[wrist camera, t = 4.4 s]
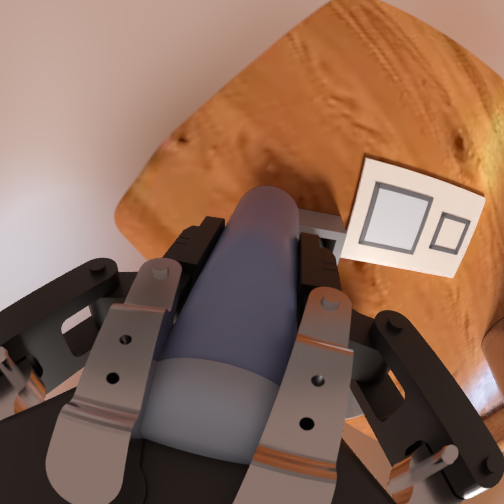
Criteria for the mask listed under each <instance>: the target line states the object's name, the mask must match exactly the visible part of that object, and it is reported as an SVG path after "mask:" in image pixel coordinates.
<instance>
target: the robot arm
mask: <svg viewBox="0 0 504 504" xmlns="http://www.w3.org/2000/svg"><path fill="white" fill-rule="evenodd" d="M224 228H225V219H222V218H216V217H210V216H206V218H205V219H204V220H203V222H202V223H201V224H200V226H191V227H189V228H187V229H185V230H183V232H182V233H181V234H180V235H179V238H177V239H176V241H175V243H173V244H172V246H171V247H170V248H169V249H168V251H167V252H166V253H165V255H164V256H163V257H162V258H155V259H151V260H149V261H147V262H145V263H144V264H143V265H142V266H141V268H140V269H139V272H118V267H117V264H116V262H115V261H113V260H112V259H108V258H96V259H93V260H90V261H88V262H86V263H84V264H82V265H80V266H78V267H77V268H75V269H73V270H71V271H69V272H67V273H65V274H64V275H62V276H60V277H58V278H56V279H55V280H53V281H51V282H50V283H48V284H46V285H44V286H42V287H41V288H39V289H37V290H35V291H34V292H32V293H30V294H29V295H27V296H25V297H23V298H22V299H20V300H18V301H17V302H15V303H14V304H12V305H10V306H9V307H7V308H6V309H4V310H2V311H1V312H0V504H460V503H461V502H462V501H465V500H467V499H469V498H471V497H474V496H476V495H478V494H480V493H482V492H484V491H486V490H488V489H490V488H492V487H494V486H495V485H496V484H498V482H499V481H500V480H501V478H502V476H503V473H504V456H503V454H502V452H501V450H500V448H499V446H498V445H497V443H496V441H495V440H494V438H493V436H492V435H491V433H490V431H489V430H488V428H487V427H486V425H485V423H484V422H483V420H482V419H481V417H480V416H479V414H478V413H477V411H476V410H475V408H474V407H473V405H472V404H471V402H470V401H469V399H468V398H467V396H466V395H465V393H464V392H463V390H462V389H461V388H460V386H459V385H458V383H457V382H456V381H455V379H454V378H453V376H452V375H451V374H450V372H449V371H448V370H447V368H446V367H445V366H444V364H443V363H442V362H441V360H440V359H439V358H438V356H437V355H436V354H435V352H434V351H433V350H432V348H431V347H430V346H429V345H428V343H427V342H426V341H425V340H424V338H423V337H422V336H421V335H420V333H419V332H418V331H417V330H416V328H415V327H414V326H413V325H412V323H411V322H410V321H409V320H408V319H407V318H406V317H405V316H403V315H402V314H400V313H398V312H395V311H390V310H385V311H381V312H379V313H378V314H377V315H376V317H375V319H373V318H371V317H368V316H365V315H363V314H360V313H358V312H356V311H355V310H353V309H352V303H351V301H350V299H349V298H348V296H347V295H346V294H344V293H343V292H342V290H341V284H340V278H339V273H338V268H337V262H336V257H335V255H334V254H333V253H332V252H331V251H330V249H327V248H322V247H320V242H319V235H316V234H310V233H305V232H301V233H300V236H299V241H298V291H297V328H296V340H295V343H294V346H293V349H292V352H291V355H290V358H289V361H288V364H287V367H286V370H285V373H284V376H283V379H282V382H281V385H280V388H279V391H278V394H277V396H276V399H275V402H274V405H273V407H272V410H271V413H270V415H269V418H268V421H267V423H266V426H265V429H264V431H263V434H262V436H261V439H260V441H259V444H258V446H257V449H256V451H255V453H254V456H253V458H252V461H251V463H250V465H247V464H241V463H235V462H230V461H224V460H220V459H215V458H210V457H206V456H202V455H198V454H194V453H190V452H187V451H183V450H179V449H176V448H173V447H169V446H166V445H163V444H160V443H157V442H154V441H151V440H148V439H146V438H144V436H143V434H142V432H141V427H142V423H143V419H144V414H145V410H146V406H147V402H148V398H149V394H150V390H151V386H152V383H153V379H154V375H155V372H156V368H157V365H158V362H159V358H160V355H161V353H162V352H163V351H164V349H165V347H166V344H167V341H168V338H169V335H170V333H171V331H172V328H173V326H174V324H175V322H176V320H177V318H178V316H179V314H180V312H181V310H182V308H183V306H184V304H185V302H186V300H187V298H188V296H189V294H190V292H191V290H192V289H193V287H194V285H195V283H196V281H197V279H198V277H199V275H200V273H201V271H202V269H203V267H204V266H205V264H206V262H207V260H208V258H209V256H210V254H211V252H212V250H213V249H214V247H215V245H216V243H217V241H218V239H219V237H220V236H221V234H222V232H223V230H224ZM87 306H89V309H90V312H91V315H92V316H90V317H89V318H87V319H86V320H84V321H83V322H81V323H80V324H78V325H76V326H75V327H73V328H72V329H70V330H69V331H68V332H66V333H65V334H62V332H61V327H62V324H63V322H64V321H65V320H66V319H68V318H69V317H71V316H72V315H74V314H76V313H77V312H78V311H80V310H82V309H83V308H85V307H87ZM481 349H482V351H483V353H484V355H485V358H486V360H487V362H488V365H489V367H490V369H491V372H492V374H493V377H494V379H495V382H496V384H497V387H498V390H499V392H500V395H501V398H502V401H503V404H504V318H503V319H502V320H500V321H499V322H498V323H496V324H495V325H494V326H493V327H492V328H491V329H490V330H489V332H488V333H487V334H486V336H485V337H484V339H483V341H482V345H481ZM84 366H85V367H84ZM83 367H84V370H83V372H82V375H81V377H80V380H79V383H78V386H77V387H75V388H73V389H70V390H68V391H66V392H64V393H62V394H60V395H57V396H55V397H53V398H51V399H48V400H46V401H45V400H44V399H45V395H46V394H47V393H49V392H50V391H51V390H53V389H54V388H56V387H57V386H58V385H60V384H61V383H63V382H64V381H65V380H67V379H68V378H69V377H71V376H72V375H73V374H75V373H76V372H77V371H79V370H80V369H82V368H83ZM390 369H391V371H392V372H393V374H394V375H395V377H396V378H397V380H398V381H399V383H400V384H401V386H402V388H403V389H404V392H405V400H404V398H403V397H402V395H401V393H400V392H399V390H398V389H397V387H396V386H395V384H394V382H393V381H392V379H391V378H390V376H389V375H388V372H389V371H390ZM349 389H351V391H352V393H353V395H354V397H355V398H356V400H357V402H358V404H359V406H360V408H361V410H362V411H363V413H364V415H365V417H366V419H367V421H368V423H369V424H370V426H371V428H372V430H373V432H374V434H375V436H376V438H377V439H378V441H379V443H380V445H381V447H382V449H383V451H384V452H385V455H386V456H387V458H388V460H389V462H390V464H391V466H392V470H391V471H390V475H389V481H388V483H387V488H388V490H389V491H390V492H392V497H391V496H390V495H389V494H388V493H387V492H386V490H385V489H384V488H383V487H382V486H381V485H380V483H379V482H378V481H377V480H376V479H375V478H374V476H373V475H372V474H371V473H370V472H369V470H368V469H367V468H366V467H365V466H364V464H363V463H362V462H361V461H360V459H359V458H358V457H357V456H356V455H355V453H354V452H353V451H352V450H351V449H350V447H349V446H348V445H347V444H346V442H345V441H344V440H343V439H342V432H343V426H344V421H345V415H346V409H347V403H348V396H349Z"/></svg>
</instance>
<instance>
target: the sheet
mask: <svg viewBox="0 0 504 504" xmlns="http://www.w3.org/2000/svg"><path fill="white" fill-rule="evenodd" d="M485 200H486V198H485V197H483V196H481V195H478V194H476V193H473V192H471V191H468V190H466V189H463V188H461V187H458V186H456V185H453V184H450V183H447V182H445V181H442V180H439V179H436V178H433V177H430V176H427V175H424V174H421V173H418V172H415V171H412V170H409V169H406V168H402V167H399V166H395V165H392V164H388V163H385V162H381V161H378V160H374V159H370V158H366V157H365V161H364V165H363V169H362V174H361V178H360V182H359V186H358V190H357V194H356V198H355V202H354V205H353V209H352V213H351V217H350V220H349V224H348V227H347V231H346V233H347V236H346V239H345V242H344V246H343V249H342V252H341V256H340V258H346V259H352V260H357V261H363V262H368V263H374V264H379V265H385V266H390V267H396V268H401V269H406V270H412V271H417V272H423V273H428V274H433V275H439V276H444V277H449V278H453V277H454V275H455V273H456V271H457V269H458V267H459V265H460V263H461V260H462V258H463V256H464V254H465V252H466V249H467V247H468V245H469V243H470V240H471V238H472V235H473V233H474V230H475V228H476V225H477V223H478V220H479V217H480V215H481V212H482V209H483V206H484V203H485Z"/></svg>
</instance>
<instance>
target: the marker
mask: <svg viewBox="0 0 504 504" xmlns="http://www.w3.org/2000/svg"><path fill="white" fill-rule="evenodd" d="M298 241H299V212H298V207H297V205H296V203H295V201H294V199H293V198H292V197H291V196H290V195H289V194H288V193H287V192H285V191H284V190H282V189H280V188H277V187H274V186H259V187H255V188H253V189H251V190H249V191H248V192H247V193H245V194H244V195H243V197H242V198H241V199H240V201H239V203H238V205H237V206H236V208H235V210H234V212H233V214H232V215H231V217H230V219H229V221H228V223H227V225H226V226H225V228H224V230H223V232H222V234H221V236H220V237H219V239H218V241H217V243H216V245H215V247H214V249H213V250H212V252H211V254H210V256H209V258H208V260H207V262H206V264H205V266H204V267H203V269H202V271H201V273H200V275H199V277H198V279H197V281H196V283H195V285H194V287H193V289H192V290H191V292H190V294H189V296H188V298H187V300H186V302H185V304H184V306H183V308H182V310H181V312H180V314H179V316H178V318H177V320H176V322H175V324H174V326H173V328H172V331H171V333H170V335H169V338H168V341H167V344H166V347H165V349H164V351H163V352H162V353H161V355H160V358H159V362H158V365H157V368H156V372H155V375H154V379H153V383H152V386H151V390H150V394H149V398H148V402H147V406H146V410H145V414H144V419H143V423H142V427H141V432H142V434H143V436H144V438H146V439H148V440H151V441H154V442H157V443H160V444H163V445H166V446H169V447H173V448H176V449H179V450H183V451H187V452H190V453H194V454H198V455H202V456H206V457H210V458H215V459H220V460H224V461H230V462H235V463H241V464H247V465H250V463H251V461H252V458H253V456H254V453H255V451H256V449H257V446H258V444H259V441H260V439H261V436H262V434H263V431H264V429H265V426H266V423H267V421H268V418H269V415H270V413H271V410H272V407H273V405H274V402H275V399H276V396H277V394H278V391H279V388H280V385H281V382H282V379H283V376H284V373H285V370H286V367H287V364H288V361H289V358H290V355H291V352H292V349H293V346H294V343H295V340H296V328H297V291H298Z"/></svg>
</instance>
